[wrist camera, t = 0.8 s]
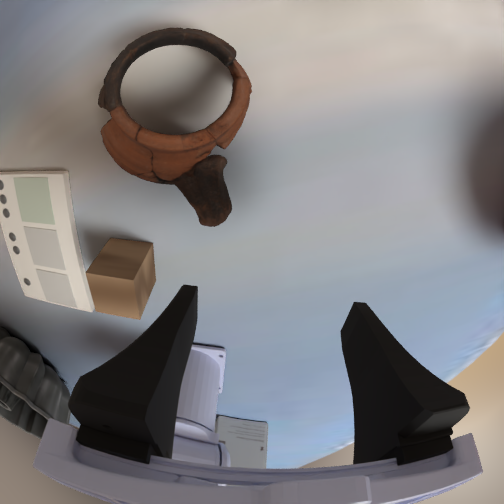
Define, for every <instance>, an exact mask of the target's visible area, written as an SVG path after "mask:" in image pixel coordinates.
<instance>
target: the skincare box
mask: <svg viewBox="0 0 504 504" xmlns="http://www.w3.org/2000/svg"><path fill="white" fill-rule="evenodd" d="M214 432H215V433H219V442H220V443H223V444H224V445H225V446H226V448H227V450H228V451H229V454H230V461H231V465H230V467H241V468H261V469H266V460H267V442H268V424H267V423H266V422H256V421H249V420H241V419H235V418H230V417H225V416H218V418H217V420H216V422H215V430H214ZM226 486H241V485H226Z"/></svg>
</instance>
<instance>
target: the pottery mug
mask: <svg viewBox="0 0 504 504" xmlns="http://www.w3.org/2000/svg"><path fill="white" fill-rule="evenodd" d="M168 45H188V46H193V47H197V48H200V49H203V50H206V51H208V52H210V53H211V54H213V55H214V56H215V57H217V58H218V59H219V60H220V61H221V62H222V63H223V64H224V65H225V66H227V67H228V69H229V70H230V72H231V74H232V77H233V79H234V82H233V85H232V87H233V89H232V97H231V101H230V103H229V105H228V107H227V109H226V110H225V112H224V113H223V114H222V115H221V116H220V117H219V118H218V119H217V120H216V121H215V122H213V123H212V124H210V125H209V126H207V127H206V128H205V129H202V130H199V131H196V132H193V133H188V134H181V135H168V134H161V133H156V132H153V131H151V130H148V129H146V128H144V127H142V126H141V125H139V124H138V123H137V122H135V121H134V120H133V119H132V118H131V117H130V116H129V114H128V113H127V111H126V109H125V108H124V106H123V105H122V101H121V97H120V88H121V83H122V79H123V77H124V75H125V73H126V71H127V69H128V68H129V67H130V65H131V64H132V63H133V62H134V61H135V60H136V59H137V58H139V57H140V56H142V55H143V54H145V53H147V52H148V51H151V50H153V49H155V48H158V47H162V46H168ZM235 57H236V50H235V49H234V48H233V47H232V46H230V45H229V44H228V43H227V42H225V41H224V40H222V39H220V38H218V37H216V36H215V35H213V34H211V33H208V32H206V31H202V30H198V29H190V28H186V29H183V28H168V29H164V30H158V31H154V32H151V33H148V34H146V35H144V36H141V37H140V38H138V39H136V40H135V41H134V42H132V43H130V44H129V45H128V46H127V47H126V48H125V50H123V51H122V52H121V53H120V54H119V56H118V57H117V58H116V60H115V61H114V62H113V63H112V65H111V67H110V69H109V71H108V73H107V75H106V77H105V79H104V85H103V87H102V89H101V91H100V94H99V99H98V105H99V106H100V107H101V108H105V109H107V110H108V111H109V112H110V115H111V117H112V119H110V120H109V121H108V122H107V124H105V125H104V126H103V128H102V129H101V135H102V138H103V143H104V145H105V147H106V149H107V151H108V152H109V154H110V155H111V156H112V158H113V159H114V161H115V162H116V163H117V164H118V165H119V166H120V167H121V168H123V169H124V170H125V171H127V172H128V173H130V174H132V175H135V176H137V177H139V178H141V179H144V180H147V181H150V182H154V183H160V184H170V185H172V184H175V185H176V186H177V187H178V188H179V190H180V191H181V192H182V193H183V195H184V196H185V197H186V199H187V200H188V202H189V203H190V204H191V206H192V207H193V208H194V209H195V211H196V213H197V215H198V217H199V222H200V224H201V225H204V226H210V227H212V226H214V227H215V226H217V225H219V224H221V223H223V222H224V221H225V220H226V219H227V217H228V215H229V214H230V213H231V211H232V204H231V200H230V197H229V194H228V190H227V187H226V184H225V181H224V178H223V169H224V167H225V166H226V164H227V159H226V158H225V157H222V156H221V155H210V156H208V155H209V154H210V153H211V150H212V149H213V148H214V147H215V146H216V145H217V146H219V147H220V148H222V149H226V147H227V146H228V145H229V144H230V142H231V141H232V140H233V138H234V137H235V135H236V133H237V131H238V130H239V128H240V127H241V125H242V123H243V120H244V118H245V115H246V111H247V109H248V106H249V100H250V93H251V92H252V90H251V87H252V86H251V82H250V80H249V78H248V76H247V74H246V72H245V71H244V69H243V68H242V66H241V65H240V64H239V63H238V62H237V60H236V59H235ZM207 156H208V157H207Z"/></svg>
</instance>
